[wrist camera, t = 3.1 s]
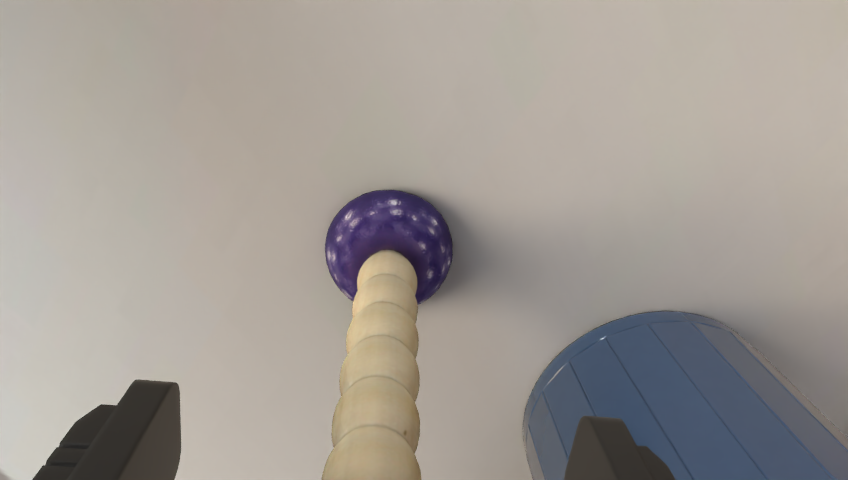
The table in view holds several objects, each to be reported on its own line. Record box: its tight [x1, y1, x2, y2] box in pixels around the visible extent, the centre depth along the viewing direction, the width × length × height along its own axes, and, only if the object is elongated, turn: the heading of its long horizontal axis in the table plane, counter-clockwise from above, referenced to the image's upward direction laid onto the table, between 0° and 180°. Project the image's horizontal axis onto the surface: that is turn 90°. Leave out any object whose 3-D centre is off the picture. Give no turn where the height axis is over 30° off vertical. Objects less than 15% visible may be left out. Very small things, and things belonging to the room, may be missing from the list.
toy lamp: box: [322, 190, 453, 480], centre depth 13 cm, size 5×5×17 cm
